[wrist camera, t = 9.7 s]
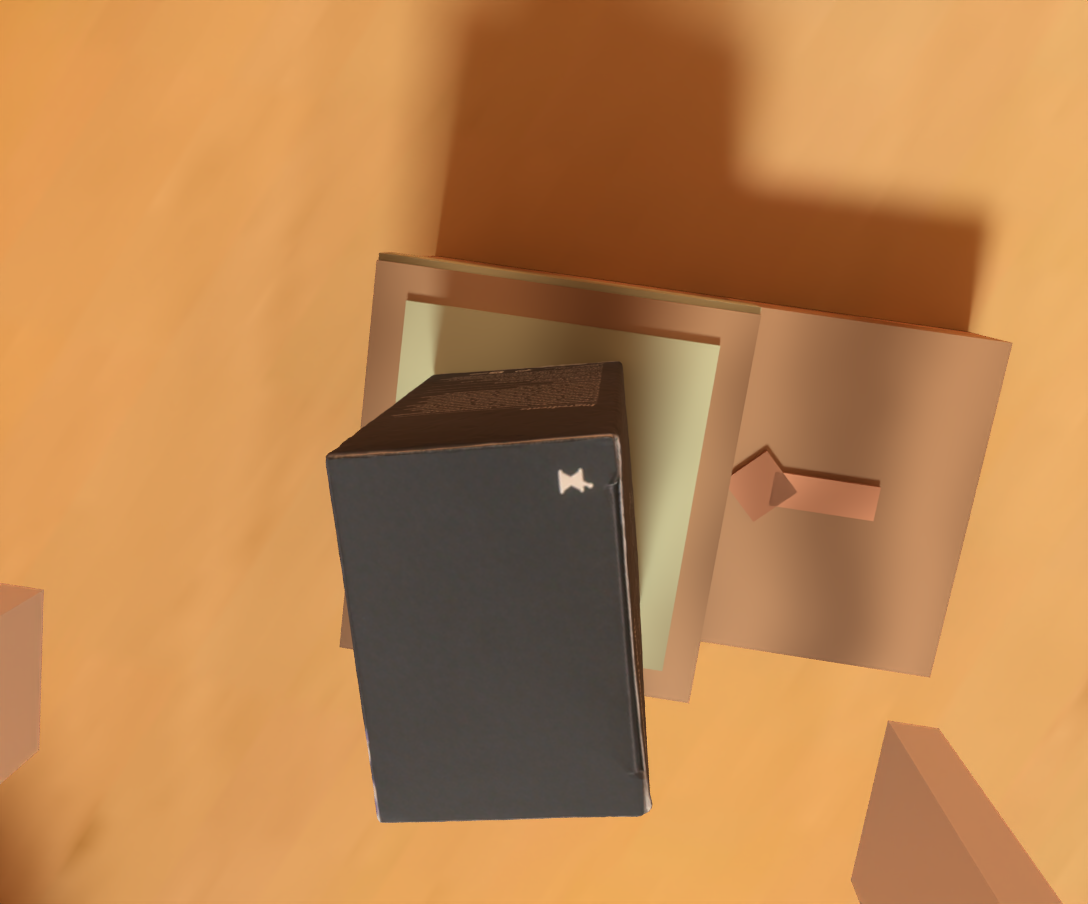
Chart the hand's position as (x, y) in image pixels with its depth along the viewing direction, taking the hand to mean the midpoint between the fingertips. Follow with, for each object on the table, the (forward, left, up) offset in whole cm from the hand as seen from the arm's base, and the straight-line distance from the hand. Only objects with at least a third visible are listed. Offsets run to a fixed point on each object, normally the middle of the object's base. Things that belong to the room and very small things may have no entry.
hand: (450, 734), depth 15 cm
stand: (+5, 0, -23) cm, 24 cm away
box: (0, 0, -14) cm, 14 cm away
